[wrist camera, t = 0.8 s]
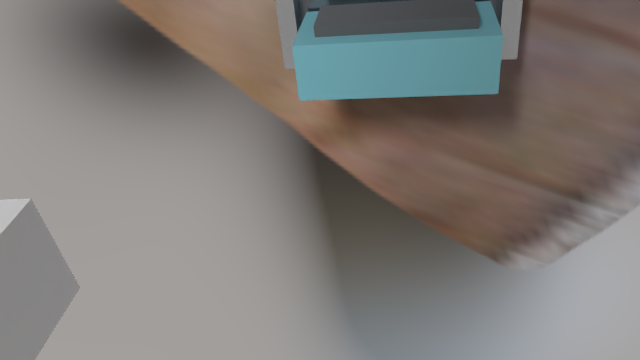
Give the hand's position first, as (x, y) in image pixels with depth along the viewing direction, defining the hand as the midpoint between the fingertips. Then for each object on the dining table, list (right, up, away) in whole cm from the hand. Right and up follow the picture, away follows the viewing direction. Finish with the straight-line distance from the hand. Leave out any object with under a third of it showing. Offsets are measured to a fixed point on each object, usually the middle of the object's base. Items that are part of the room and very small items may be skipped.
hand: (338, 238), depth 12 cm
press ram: (+4, +10, +20) cm, 23 cm away
